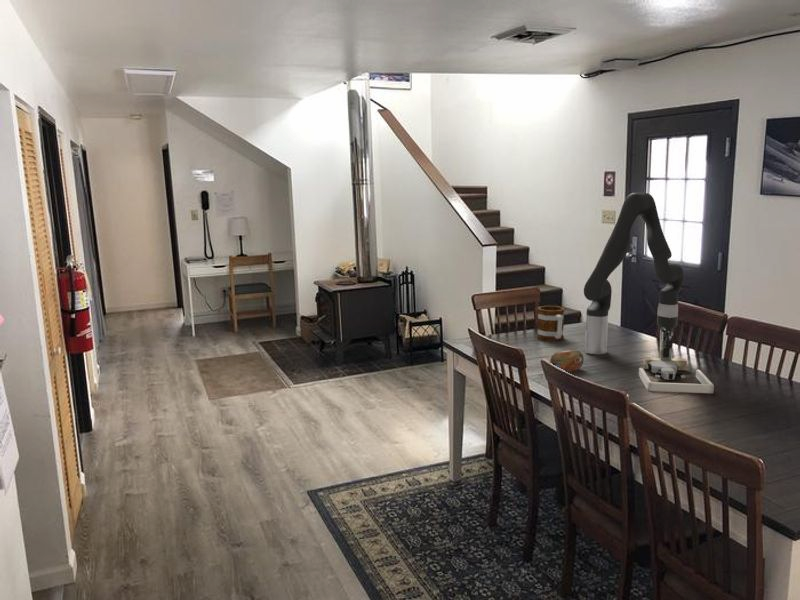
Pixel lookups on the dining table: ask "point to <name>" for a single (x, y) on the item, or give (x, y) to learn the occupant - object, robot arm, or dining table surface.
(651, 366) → the robot toy
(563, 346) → the dining table surface
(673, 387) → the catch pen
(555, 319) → the mug
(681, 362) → the scraper
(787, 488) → the dining table surface
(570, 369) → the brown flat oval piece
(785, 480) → the dining table surface
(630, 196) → the robot arm
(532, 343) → the dining table surface
